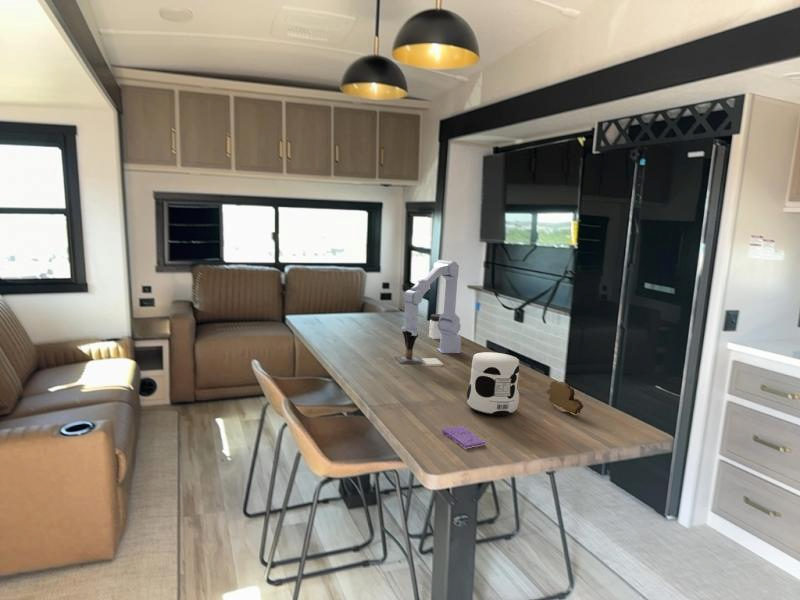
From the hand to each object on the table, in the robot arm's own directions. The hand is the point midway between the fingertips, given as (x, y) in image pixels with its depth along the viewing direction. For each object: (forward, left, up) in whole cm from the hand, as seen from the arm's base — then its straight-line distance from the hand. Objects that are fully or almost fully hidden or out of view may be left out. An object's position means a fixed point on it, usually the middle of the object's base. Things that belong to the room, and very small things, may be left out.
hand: (409, 348), depth 234 cm
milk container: (-13, +61, -6) cm, 63 cm away
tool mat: (0, 0, -6) cm, 6 cm away
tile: (-10, 0, -5) cm, 11 cm away
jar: (-27, -43, -6) cm, 51 cm away
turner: (0, +1, -5) cm, 5 cm away
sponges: (+5, +82, -6) cm, 83 cm away
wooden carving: (-38, +64, -6) cm, 75 cm away
